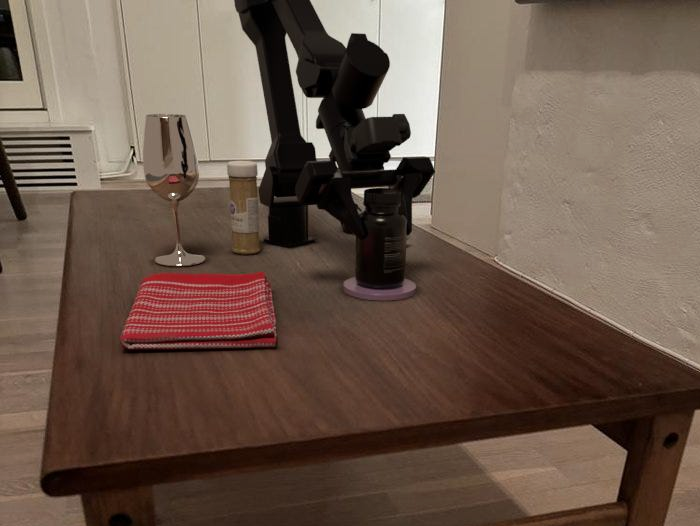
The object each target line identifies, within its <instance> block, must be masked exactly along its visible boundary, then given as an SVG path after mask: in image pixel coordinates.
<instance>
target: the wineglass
mask: <svg viewBox="0 0 700 526" xmlns="http://www.w3.org/2000/svg"><path fill="white" fill-rule="evenodd" d="M187 117H188V116H187V115H185V114H176V113H175V114H174V113H153V114H152V113H151V114H146V115H145V122H144V130H143V131H144V132H143V142H142V143H143V145H142V167H143V169H142V170H143V174H144V175H143V176H144V179H145V181H146V183H147V185H148V187H149V188H150V189H151V191H152V192H153V193H154V194H156V195H157V196H158V197H159V198H161V199H163V200H165V201H167V202H169V204H170V206H171V209H172V210H171V211H172V215H173V223H174V232H175V233H174V234H175V242H176V243H175V249H174V251H173V252H172V253H170V252H169V253H164V254H161V255H158V256H157V257H155V258H154V263H156V264H158V265H161V266H164V267H173V268H174V267H175V268H176V267H191V266H192V267H193V266H197V265H200V264H202V263H204V262H205V261H206V257H205V256H204V255H203V254H200V253H195V252H194V253H193V252H186V251H185V249H184V248H183V246H182V245H183V244H182V238H181V229H180V217H179V210H180V209H179V206H180V203H181V202H182V201H184V200H186V199H187V198H188V197H189V196H191V194H192V193H193V192H194V191H195V190H196V188H197V185H198V184H199V179H200V167H199V159H198V153H197V150H196V146H195V143H194V142H195V141H194V137H193V135H192V131H191V128H190V124H189V121H188V118H187Z"/></svg>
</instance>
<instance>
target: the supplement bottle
mask: <svg viewBox="0 0 700 526" xmlns="http://www.w3.org/2000/svg"><path fill="white" fill-rule="evenodd" d="M400 199H401V191H400V190H397V189H391V188H388V187H373V188H365V189H364V191H363V201H362V205H363V206H364V209H363V210H362V212H361V213H359V216H360V219H361V221H362V224H363V227H364V231H365V237H364V239H363V240H360V239H359V238H357V237H356V236H355V254H354V255H355V258H354V259H355V261H354V262H355V263H354V266H355V267H354V269H355V272H354V273H355V276H354V277H355V279H356V282H357V283H358V284H359V285H361V286H364V287H368V288H375V289H388V288H395V287H398V286H400V285H402V284H403V282H404V279H406V278H405V277H406V257H407V241H408V240H407V219H406V216H405V215H404V214H403V213H402V212H401V211H399V207H400V206H401V202H400Z"/></svg>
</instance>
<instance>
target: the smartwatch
mask: <svg viewBox="0 0 700 526" xmlns="http://www.w3.org/2000/svg"><path fill="white" fill-rule="evenodd" d="M354 203H355V205H356V208H357V211H358V213H361V212H362V211H363V210H362V208H361V207H359V204H357V203H356V202H354ZM339 223H340V226H341V229H342V230H343V232H345V233H352V232H351V231H350V230H349V229H348V228H346V227H345V226H344V225H343V224H342V223H341V222H340V221H339Z"/></svg>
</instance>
